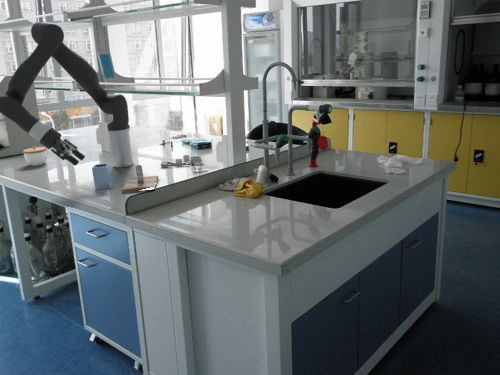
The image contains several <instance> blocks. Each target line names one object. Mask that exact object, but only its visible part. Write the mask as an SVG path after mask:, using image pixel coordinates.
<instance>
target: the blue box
mask: <svg viewBox="0 0 500 375" xmlns="http://www.w3.org/2000/svg"><path fill="white" fill-rule="evenodd" d="M91 169H92V172H91V173H92V176H93V184H94V189H95V191H97V190H98V191H99V190H110V189H112V187H113V179H112V171H111V165H110V163H98V164H94V165H93V166H92V167H91Z"/></svg>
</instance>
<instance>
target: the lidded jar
mask: <svg viewBox="0 0 500 375" xmlns="http://www.w3.org/2000/svg"><path fill="white" fill-rule="evenodd" d="M22 153H23V157H24V159H25V161H26V163H27V164H29V165H30V166H31V167H32V166H33V167H37V166H42V165H44V164H45V163H46V160H47V157H48V151H47V148H46V147H45V146H38V147H37V146H36V145H33V146H32V147H29V148H25V149H23V150H22Z"/></svg>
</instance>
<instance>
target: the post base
mask: <svg viewBox="0 0 500 375" xmlns="http://www.w3.org/2000/svg"><path fill="white" fill-rule="evenodd" d="M135 172H136V176H135V177H128V179H127V180H126V182H125V183H124V186H123V187H122V188H121V193H122V194H128V193H136V192H135V191H139V190H142V189H146V188H150V187H154V185H155V183H156V182H157V180H158V177H159V175H149V176H144V172H143V166H142V165H141V164H136V166H135ZM158 181H159V180H158ZM157 183H158V182H157Z"/></svg>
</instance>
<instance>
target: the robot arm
mask: <svg viewBox="0 0 500 375" xmlns="http://www.w3.org/2000/svg"><path fill="white" fill-rule="evenodd" d="M30 34H31V37H32V39H33V41H34V42H35V44H37V45H36V47H35V49H34V50H33V52H32V53H31V54H30V55H29V56H28V57H27V58H26V59H25V60H24V61H22V63H21V64H19V66H18V67H17V69H16V70H15V72H14V73H13V75H12V77H11V78H10V80H9V82H8V85H7V90H6V92H5V94H4V95H1V96H0V114H1V115H3V116H4V117H6V118H7V119H9V120H11V121H12V122H14V123H15V124H16V125H17V126H18V127H19V128H20V129H22V130H23V131H24V132H26V134H28V135H29V136H31V137H32V138H33V139H34V140H35V141H37V142H38V143H39V144H41V145H42V147H45V148H46V150H50V151H51V152H52V153H53V154H55V156H57V157H58V158H59V159H61V160H63V161H68V162H69V163H71V164H72V165H74V166H75V167H76V166H77V165H78V164H79V161H83V160H85V158H86V156H85V155H84V154H83V153H82V152H80V151H79V150H78V146H76V145H75V144H74V143H72V142H71V141H70V140H68V139H66V138H64V139H61V138H62V134H61V133H60V132H59V131H58V130H56V129H55V128H54V127H53V126H51V125H50V124H49V123H47V122H45V121H44V120H42V119H41V118H40V117H38V116H36V114H34V113H33V112H31V111H30V110H28V109H27V108H26V107H24V105H23V103H24V101H25V99H26V95H27V94H28V92H29V91H30V89H31V87H32V85H33V83H34V82H35V79H37V77H38V75H39V74H40V72H41V71H42V69H43V68H44V66H45V65H46V64H47V62H48V61H49V60H50V59H51V58H53V59H54V60H55V61H56V62H57V63H58V64H59V65H60V66H61V68H63V69H64V71H65V72H66V73H67V74H68V75H69V76H70V77H71V78H72V79H73V81H75V82H76V83H77V84H78V85H79V86H80V87H81V88H82V89H83V90H84V91H85V92H86V93H87V95H89V97H90V98H91V99H92V100H93V102H95V103H96V105H97V107H98V108H99V109H100V110H101V111H102V112H103V113H104V114H107V115H112V121H111V122H109V123H108V124H107V125H106V126H107V127H106V128H107V132H108V133H107V134H108V140H109V146H110V152H111V158H112V160H111V161H112V165H113V167H114V168H127V167H130V166H134V159H133V151H132V146H131V136H130V131H129V122H130V120H129V119H130V118H129V110H128V109H129V107H128V101H127V98H126V97H125V96H124V95H123V94H120V93H113V94H112V93H109V92H107V91H106V90H105V88H103V87H102V86H101V83H100V80H99V77H98V73H97V71H96V69H94V67H93V66H92V65H91V64H90V63H89V62H88V61H87V59H85V58H84V57H83V56H82V55H80V54H78V53H77V52H75V51H74V50H73V49H71V48H70V47H68V45H66V44H65V43H64V40H65V33H64V30H63V29H62V27H61V26H60V25H59V24H57V23H53V22H46V21H38V22H35V23H34V24H32V26H31V29H30ZM75 157H76V158H75ZM78 159H79V160H78Z"/></svg>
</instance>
